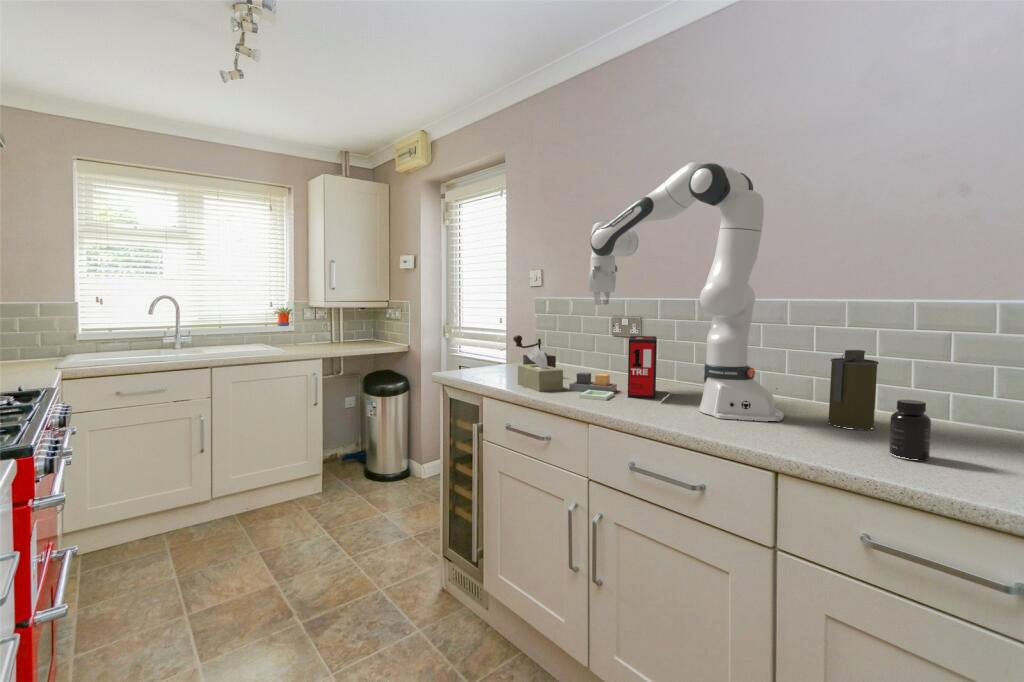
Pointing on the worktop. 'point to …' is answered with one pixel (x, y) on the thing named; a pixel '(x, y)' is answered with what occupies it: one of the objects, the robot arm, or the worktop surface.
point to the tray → (596, 395)
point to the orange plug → (602, 380)
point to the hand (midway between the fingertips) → (602, 304)
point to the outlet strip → (592, 387)
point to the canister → (853, 391)
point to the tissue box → (540, 374)
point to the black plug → (584, 378)
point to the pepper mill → (550, 359)
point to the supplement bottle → (910, 430)
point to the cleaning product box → (642, 367)
